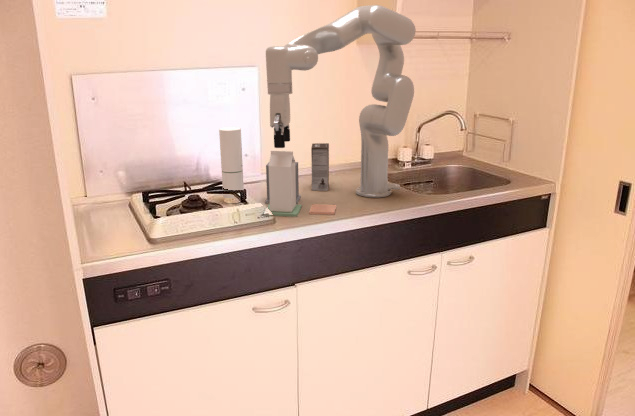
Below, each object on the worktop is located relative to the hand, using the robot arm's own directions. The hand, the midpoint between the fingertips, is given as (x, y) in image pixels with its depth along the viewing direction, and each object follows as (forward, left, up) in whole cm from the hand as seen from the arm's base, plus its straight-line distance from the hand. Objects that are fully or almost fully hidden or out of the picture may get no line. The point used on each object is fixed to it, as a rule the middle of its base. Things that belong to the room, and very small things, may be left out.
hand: (282, 144), depth 167 cm
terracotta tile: (-13, -2, -22) cm, 25 cm away
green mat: (0, 0, -22) cm, 22 cm away
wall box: (+2, -12, -22) cm, 25 cm away
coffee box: (-9, -30, -22) cm, 38 cm away
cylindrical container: (+19, -10, -22) cm, 31 cm away
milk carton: (0, 0, -21) cm, 21 cm away
